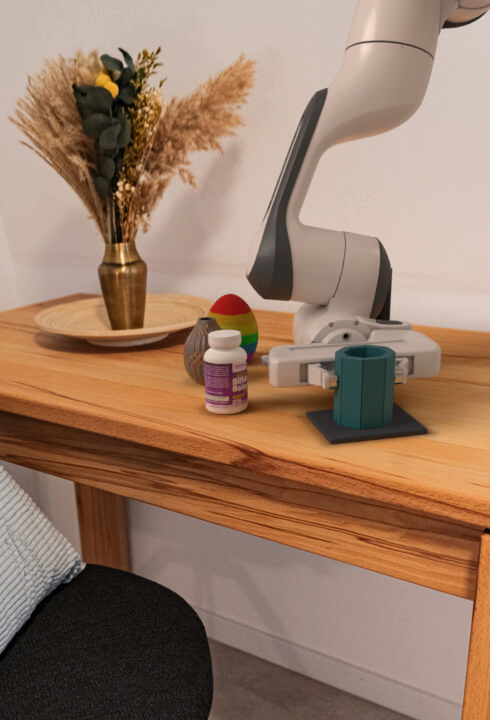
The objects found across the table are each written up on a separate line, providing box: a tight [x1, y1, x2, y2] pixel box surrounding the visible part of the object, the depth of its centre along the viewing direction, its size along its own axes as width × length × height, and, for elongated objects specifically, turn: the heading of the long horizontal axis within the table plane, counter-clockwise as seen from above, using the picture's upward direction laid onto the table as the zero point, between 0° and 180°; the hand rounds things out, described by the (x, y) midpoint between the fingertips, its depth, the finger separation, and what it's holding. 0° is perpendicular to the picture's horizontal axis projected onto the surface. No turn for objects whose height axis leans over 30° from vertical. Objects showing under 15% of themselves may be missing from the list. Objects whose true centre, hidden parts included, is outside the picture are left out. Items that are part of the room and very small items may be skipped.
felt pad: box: [305, 402, 429, 445], centre depth 97 cm, size 11×10×1 cm
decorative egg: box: [206, 293, 259, 363], centre depth 124 cm, size 8×8×10 cm
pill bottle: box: [204, 330, 249, 415], centre depth 104 cm, size 5×5×10 cm
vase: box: [182, 316, 222, 385], centre depth 116 cm, size 7×7×9 cm
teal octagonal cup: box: [333, 345, 396, 429], centre depth 95 cm, size 6×6×8 cm
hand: (366, 380), depth 94 cm, fingers closed on teal octagonal cup, 6 cm apart
